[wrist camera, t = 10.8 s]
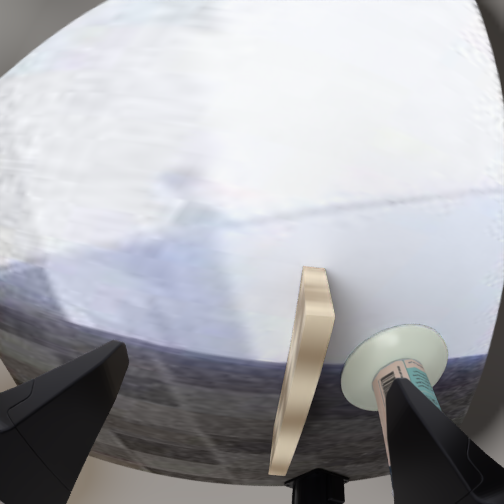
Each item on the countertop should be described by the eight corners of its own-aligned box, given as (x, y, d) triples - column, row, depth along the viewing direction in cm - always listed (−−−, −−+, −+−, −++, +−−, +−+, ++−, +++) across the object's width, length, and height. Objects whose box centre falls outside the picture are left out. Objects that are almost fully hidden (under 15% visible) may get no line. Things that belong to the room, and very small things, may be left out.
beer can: (367, 396, 23) (385, 513, 12) (374, 357, 22) (405, 488, 11) (415, 389, 23) (447, 498, 12) (427, 351, 21) (476, 467, 10)
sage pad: (383, 417, 25) (384, 422, 25) (316, 379, 24) (317, 384, 23) (461, 357, 22) (464, 361, 21) (406, 302, 20) (409, 306, 20)
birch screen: (288, 427, 27) (285, 475, 21) (273, 426, 27) (268, 474, 21) (324, 268, 20) (335, 317, 15) (302, 266, 20) (306, 314, 15)
